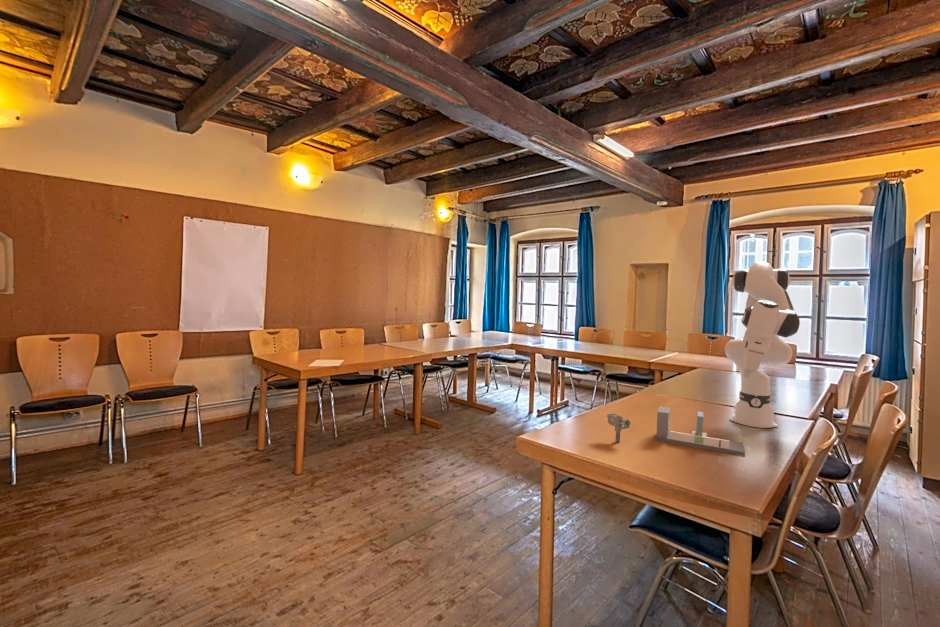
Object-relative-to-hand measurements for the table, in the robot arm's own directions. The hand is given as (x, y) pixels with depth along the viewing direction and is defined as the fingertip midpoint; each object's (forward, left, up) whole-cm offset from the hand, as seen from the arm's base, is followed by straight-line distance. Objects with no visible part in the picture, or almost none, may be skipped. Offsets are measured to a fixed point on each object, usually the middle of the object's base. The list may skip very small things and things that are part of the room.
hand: (745, 376), depth 169 cm
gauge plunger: (+8, -15, -26) cm, 31 cm away
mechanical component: (+23, -43, -28) cm, 56 cm away
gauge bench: (+7, -15, -27) cm, 32 cm away
